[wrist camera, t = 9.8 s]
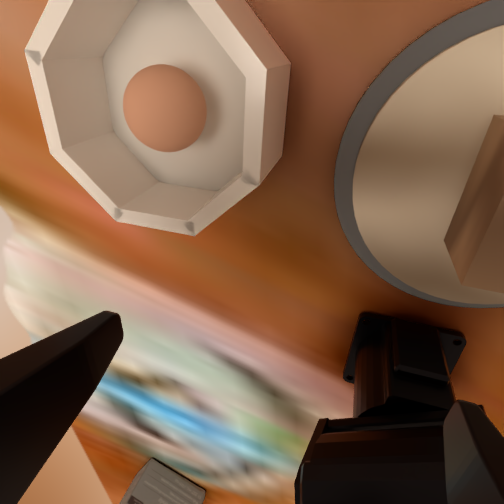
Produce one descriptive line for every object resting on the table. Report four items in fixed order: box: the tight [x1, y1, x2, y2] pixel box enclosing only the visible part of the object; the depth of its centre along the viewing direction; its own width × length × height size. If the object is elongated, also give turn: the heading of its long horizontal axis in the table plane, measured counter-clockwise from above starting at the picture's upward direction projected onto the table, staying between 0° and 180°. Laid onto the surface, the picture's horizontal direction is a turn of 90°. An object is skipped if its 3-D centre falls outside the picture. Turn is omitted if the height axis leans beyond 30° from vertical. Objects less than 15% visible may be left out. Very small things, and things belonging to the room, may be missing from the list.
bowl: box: [24, 0, 291, 236], centre depth 17 cm, size 11×11×5 cm
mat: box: [334, 0, 504, 308], centre depth 17 cm, size 15×15×1 cm
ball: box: [123, 64, 207, 152], centre depth 17 cm, size 4×4×4 cm
